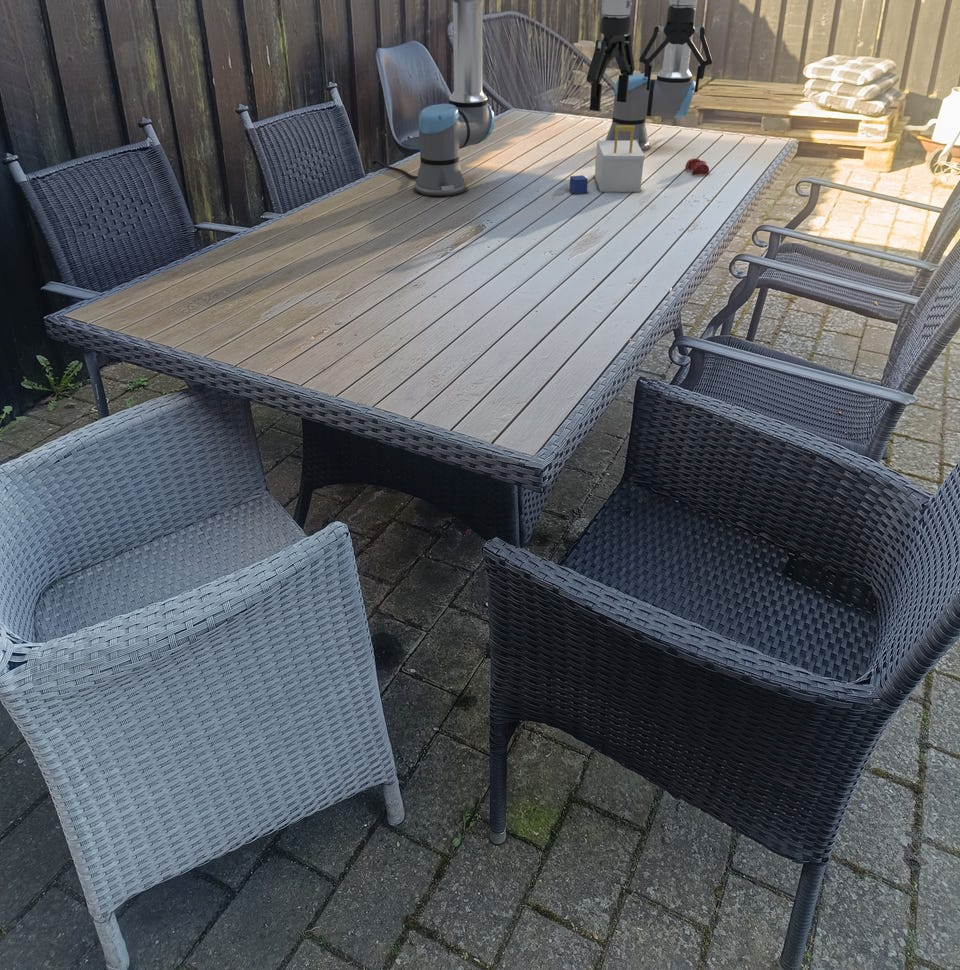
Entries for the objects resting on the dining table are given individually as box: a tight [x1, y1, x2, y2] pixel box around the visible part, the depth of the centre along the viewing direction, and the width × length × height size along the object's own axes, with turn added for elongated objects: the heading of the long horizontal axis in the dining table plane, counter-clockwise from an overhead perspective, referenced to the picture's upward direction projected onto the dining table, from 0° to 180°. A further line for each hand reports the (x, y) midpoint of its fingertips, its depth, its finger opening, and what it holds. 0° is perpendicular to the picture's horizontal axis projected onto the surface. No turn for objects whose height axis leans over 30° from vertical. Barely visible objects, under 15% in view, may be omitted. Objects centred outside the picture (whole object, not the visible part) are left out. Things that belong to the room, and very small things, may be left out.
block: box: [568, 174, 589, 195], centre depth 256 cm, size 4×4×4 cm
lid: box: [596, 126, 646, 160], centre depth 255 cm, size 18×12×9 cm
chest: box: [594, 143, 645, 193], centre depth 261 cm, size 17×12×10 cm
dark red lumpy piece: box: [684, 157, 710, 176], centre depth 272 cm, size 6×4×8 cm
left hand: (608, 106), depth 226 cm, fingers open, 13 cm apart
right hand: (671, 90), depth 243 cm, fingers open, 13 cm apart
